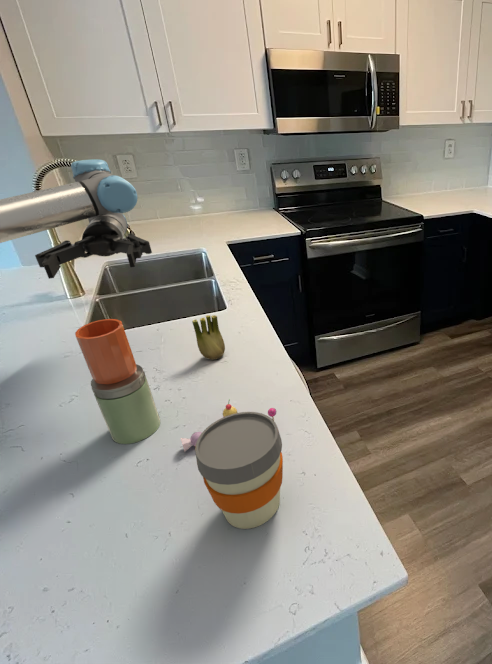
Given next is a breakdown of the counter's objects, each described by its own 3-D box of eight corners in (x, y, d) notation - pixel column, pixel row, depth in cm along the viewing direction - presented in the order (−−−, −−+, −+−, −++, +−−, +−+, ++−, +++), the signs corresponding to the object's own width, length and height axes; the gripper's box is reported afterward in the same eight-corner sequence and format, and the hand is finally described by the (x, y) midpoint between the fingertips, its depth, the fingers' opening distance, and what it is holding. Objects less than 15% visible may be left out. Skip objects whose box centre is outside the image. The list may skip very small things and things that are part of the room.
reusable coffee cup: (245, 466, 78) (231, 403, 70) (304, 487, 73) (295, 421, 66) (196, 524, 67) (173, 456, 60) (261, 551, 63) (245, 481, 56)
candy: (188, 463, 78) (180, 438, 76) (180, 437, 84) (173, 413, 82) (279, 426, 87) (276, 403, 84) (266, 405, 93) (263, 383, 90)
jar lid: (83, 393, 79) (79, 384, 78) (123, 368, 87) (120, 359, 86) (117, 403, 77) (114, 394, 76) (155, 376, 84) (153, 368, 83)
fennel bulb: (200, 362, 108) (189, 321, 103) (206, 351, 113) (197, 312, 107) (222, 361, 108) (213, 320, 103) (228, 351, 113) (219, 311, 107)
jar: (101, 437, 84) (79, 387, 79) (138, 409, 92) (121, 362, 86) (134, 448, 82) (115, 398, 76) (170, 419, 89) (154, 371, 83)
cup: (85, 376, 81) (67, 331, 76) (123, 358, 86) (108, 315, 81) (106, 389, 77) (88, 342, 72) (144, 369, 83) (130, 324, 78)
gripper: (166, 244, 104) (166, 273, 87) (46, 259, 95) (19, 295, 78) (158, 214, 100) (157, 238, 83) (32, 227, 91) (2, 257, 74)
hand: (90, 266), depth 81 cm, fingers open, 13 cm apart
